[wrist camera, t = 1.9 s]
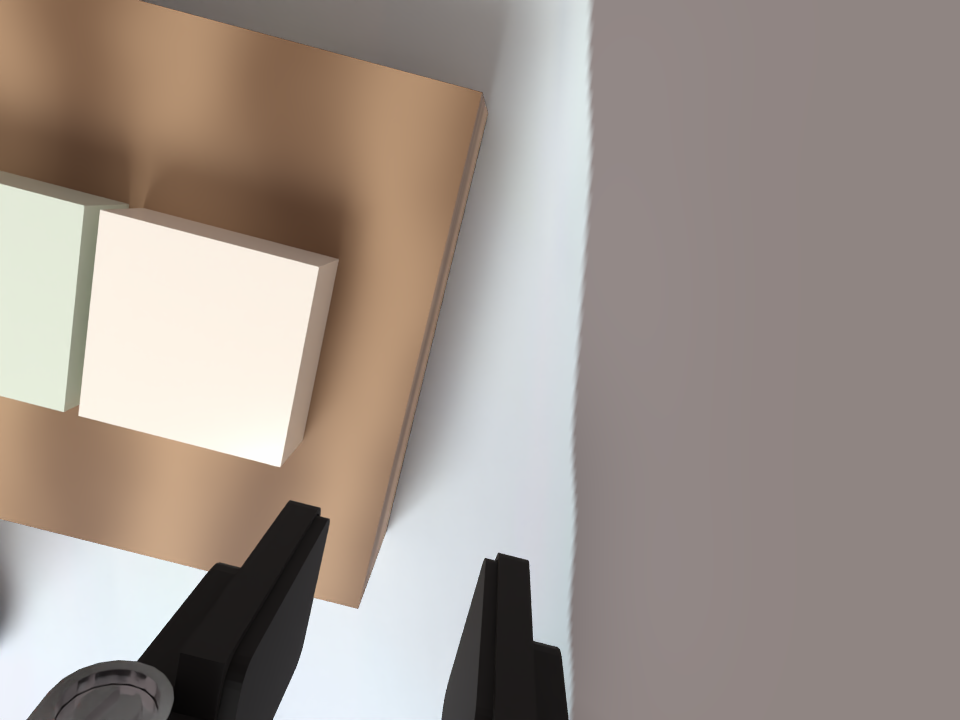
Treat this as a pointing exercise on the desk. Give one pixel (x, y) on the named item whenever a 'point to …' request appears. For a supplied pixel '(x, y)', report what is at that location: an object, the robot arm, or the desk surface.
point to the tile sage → (45, 288)
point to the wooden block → (255, 212)
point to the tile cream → (203, 334)
